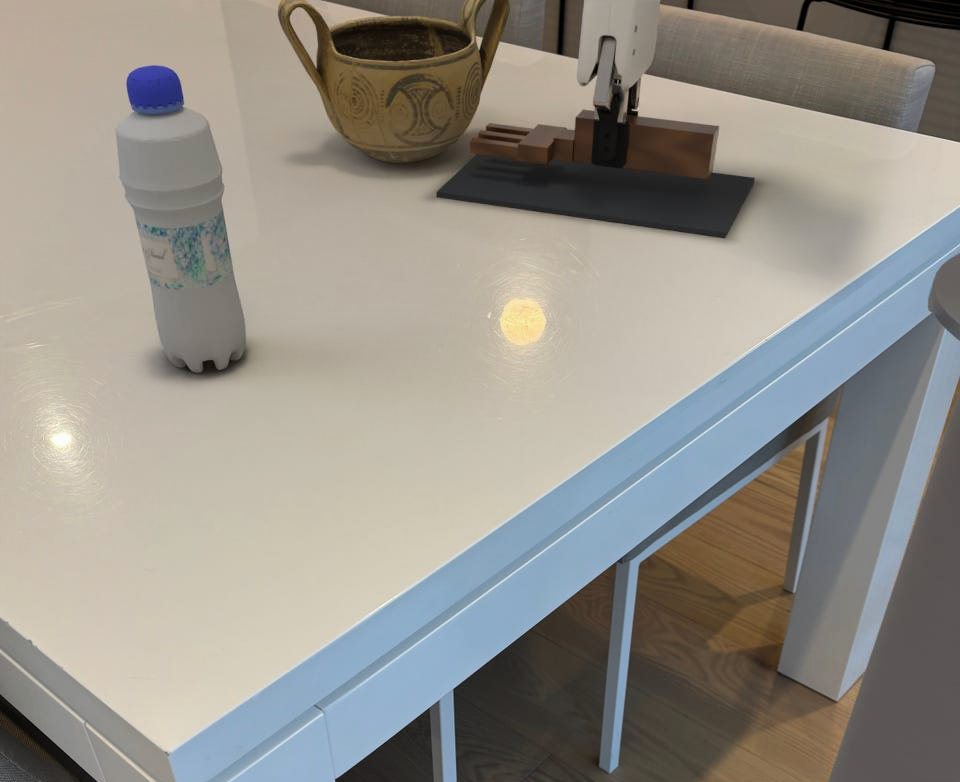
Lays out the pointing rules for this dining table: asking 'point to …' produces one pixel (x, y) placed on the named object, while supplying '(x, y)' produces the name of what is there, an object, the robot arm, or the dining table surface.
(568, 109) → the dining table surface
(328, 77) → the ceramic bowl
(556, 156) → the fork
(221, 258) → the bottle
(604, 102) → the robot arm
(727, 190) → the place mat
